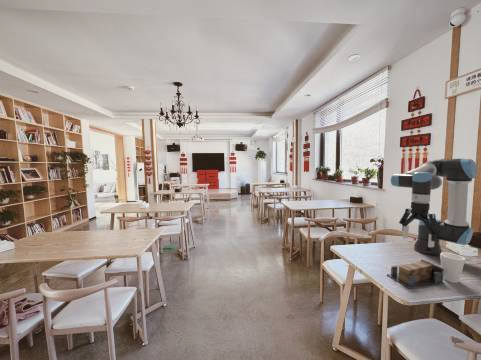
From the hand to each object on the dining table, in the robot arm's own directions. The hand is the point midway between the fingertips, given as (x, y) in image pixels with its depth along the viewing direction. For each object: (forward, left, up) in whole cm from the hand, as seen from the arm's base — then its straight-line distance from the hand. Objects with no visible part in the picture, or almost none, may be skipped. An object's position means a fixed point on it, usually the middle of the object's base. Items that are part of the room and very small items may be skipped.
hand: (417, 242), depth 117 cm
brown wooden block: (0, 0, -20) cm, 20 cm away
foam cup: (-18, +4, -21) cm, 28 cm away
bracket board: (0, 0, -21) cm, 21 cm away
